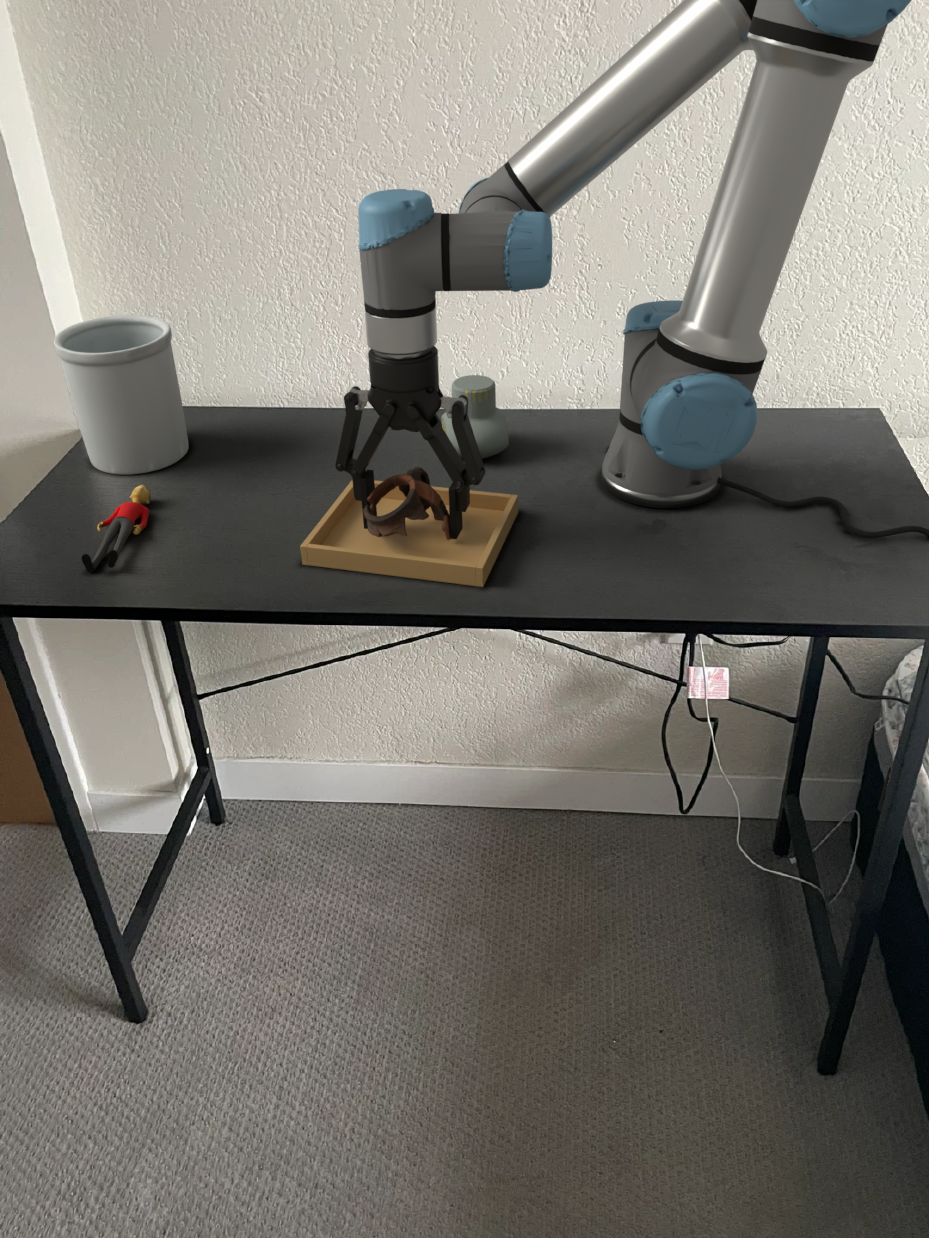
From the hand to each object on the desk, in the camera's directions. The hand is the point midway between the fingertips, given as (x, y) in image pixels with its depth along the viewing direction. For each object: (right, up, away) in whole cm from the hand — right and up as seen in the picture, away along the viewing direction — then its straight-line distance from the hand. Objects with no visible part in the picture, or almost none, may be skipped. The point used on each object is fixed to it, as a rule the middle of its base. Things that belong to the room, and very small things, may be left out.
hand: (413, 528), depth 122 cm
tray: (0, -1, +1) cm, 1 cm away
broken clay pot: (0, 0, 0) cm, 0 cm away
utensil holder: (-40, +12, +22) cm, 47 cm away
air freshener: (+8, +12, +20) cm, 25 cm away
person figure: (-35, -1, +3) cm, 36 cm away
